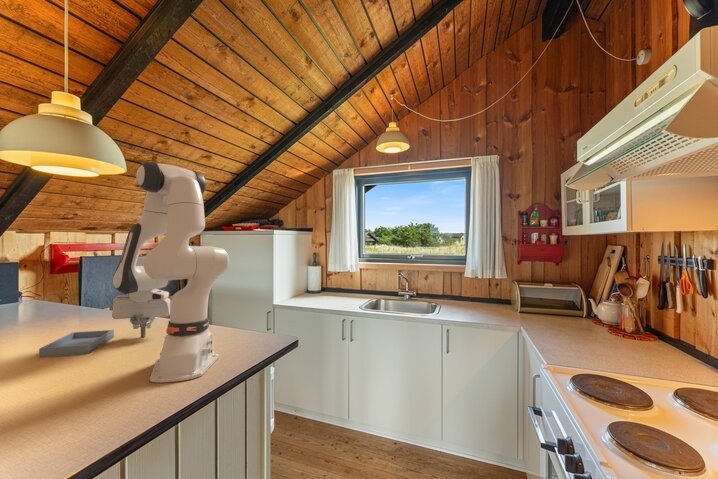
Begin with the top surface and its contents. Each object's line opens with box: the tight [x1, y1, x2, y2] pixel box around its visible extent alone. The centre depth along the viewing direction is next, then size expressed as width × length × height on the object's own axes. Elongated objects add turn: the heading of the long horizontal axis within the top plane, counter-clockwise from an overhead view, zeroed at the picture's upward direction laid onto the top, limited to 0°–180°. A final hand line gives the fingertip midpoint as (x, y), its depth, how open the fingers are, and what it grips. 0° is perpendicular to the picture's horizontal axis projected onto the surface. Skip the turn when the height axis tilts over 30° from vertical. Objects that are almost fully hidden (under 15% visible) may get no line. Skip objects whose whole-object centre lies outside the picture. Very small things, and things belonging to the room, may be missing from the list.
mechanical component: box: [131, 315, 151, 339], centre depth 121 cm, size 3×10×10 cm, turn 178°
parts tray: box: [38, 329, 115, 358], centre depth 110 cm, size 18×14×3 cm
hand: (142, 328), depth 121 cm, fingers closed on mechanical component, 3 cm apart
